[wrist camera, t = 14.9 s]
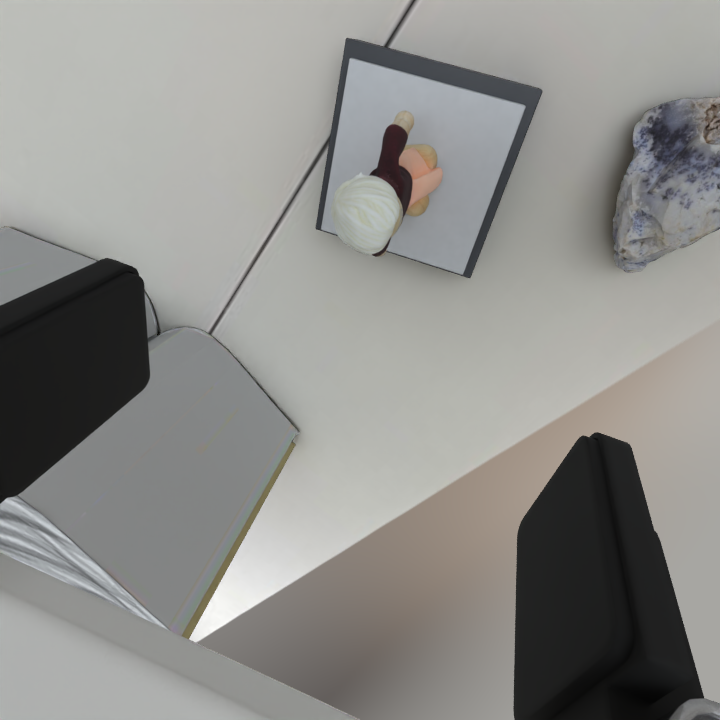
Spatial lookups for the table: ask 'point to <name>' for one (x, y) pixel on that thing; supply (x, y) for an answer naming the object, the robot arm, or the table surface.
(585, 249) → the table surface
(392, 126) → the grandmother figurine
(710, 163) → the mineral specimen
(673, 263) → the table surface
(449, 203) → the scale
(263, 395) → the book
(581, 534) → the robot arm
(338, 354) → the table surface
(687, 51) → the table surface
